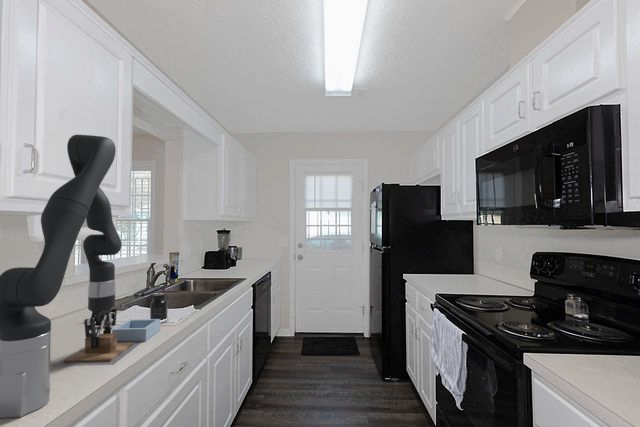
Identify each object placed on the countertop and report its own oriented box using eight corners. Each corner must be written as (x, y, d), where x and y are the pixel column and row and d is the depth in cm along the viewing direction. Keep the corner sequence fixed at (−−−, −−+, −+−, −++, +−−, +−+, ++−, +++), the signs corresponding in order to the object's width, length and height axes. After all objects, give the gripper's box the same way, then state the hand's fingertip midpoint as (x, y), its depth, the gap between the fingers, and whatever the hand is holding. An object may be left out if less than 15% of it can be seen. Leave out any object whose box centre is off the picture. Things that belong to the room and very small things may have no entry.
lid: (110, 361, 101) (110, 343, 101) (63, 363, 100) (63, 344, 100) (133, 344, 115) (133, 328, 115) (92, 345, 114) (92, 329, 114)
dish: (146, 342, 118) (146, 328, 118) (112, 343, 117) (112, 329, 117) (160, 331, 130) (160, 318, 130) (129, 332, 129) (129, 319, 129)
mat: (113, 366, 99) (113, 364, 99) (51, 367, 98) (51, 366, 98) (141, 343, 117) (141, 342, 117) (90, 345, 116) (90, 343, 116)
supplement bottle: (170, 319, 145) (170, 293, 145) (160, 324, 138) (160, 296, 139) (157, 319, 146) (157, 292, 147) (146, 323, 140) (146, 295, 140)
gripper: (100, 299, 101) (99, 353, 100) (125, 289, 115) (124, 336, 115) (75, 299, 100) (74, 353, 100) (103, 289, 115) (102, 337, 114)
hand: (101, 344), depth 107 cm, fingers open, 6 cm apart
